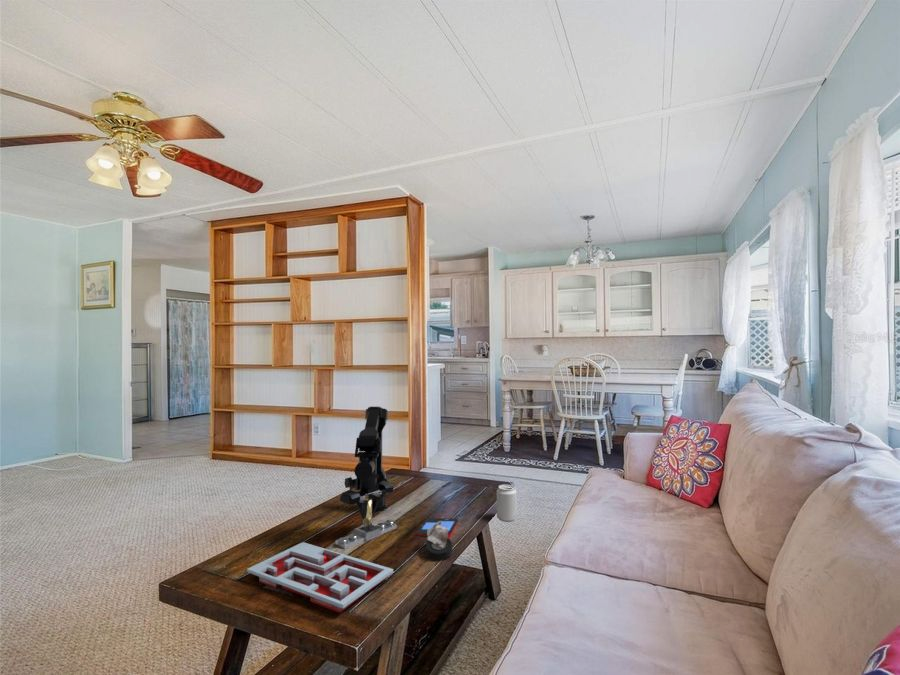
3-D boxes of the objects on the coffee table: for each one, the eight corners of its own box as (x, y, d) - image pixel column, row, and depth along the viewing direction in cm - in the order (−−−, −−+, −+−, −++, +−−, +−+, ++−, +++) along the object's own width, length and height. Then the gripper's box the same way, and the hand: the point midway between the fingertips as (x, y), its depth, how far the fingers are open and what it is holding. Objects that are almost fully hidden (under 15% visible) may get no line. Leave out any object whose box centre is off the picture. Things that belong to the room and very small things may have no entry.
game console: (426, 521, 164) (426, 515, 164) (459, 524, 161) (459, 518, 161) (414, 537, 150) (414, 530, 150) (450, 541, 147) (450, 534, 147)
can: (510, 524, 160) (510, 490, 160) (492, 519, 164) (492, 487, 165) (520, 518, 166) (520, 486, 166) (503, 513, 170) (503, 482, 170)
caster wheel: (440, 571, 131) (416, 556, 137) (463, 550, 139) (439, 537, 146) (440, 551, 129) (415, 537, 136) (463, 531, 138) (439, 519, 144)
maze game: (393, 581, 121) (393, 569, 121) (343, 618, 104) (343, 605, 104) (302, 552, 138) (302, 542, 138) (246, 580, 121) (247, 568, 121)
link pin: (368, 521, 152) (368, 497, 152) (373, 523, 150) (374, 499, 150) (361, 523, 149) (361, 499, 150) (366, 526, 148) (367, 501, 148)
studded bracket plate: (387, 523, 160) (387, 516, 160) (398, 528, 156) (398, 520, 156) (333, 544, 143) (333, 536, 143) (344, 550, 139) (344, 542, 139)
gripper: (374, 462, 162) (373, 504, 162) (330, 472, 148) (330, 519, 148) (394, 467, 155) (394, 512, 155) (350, 479, 141) (350, 528, 141)
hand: (367, 517), depth 150 cm, fingers closed on link pin, 3 cm apart
